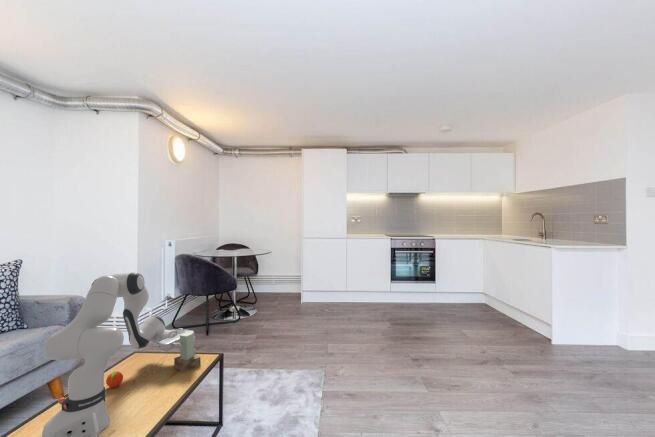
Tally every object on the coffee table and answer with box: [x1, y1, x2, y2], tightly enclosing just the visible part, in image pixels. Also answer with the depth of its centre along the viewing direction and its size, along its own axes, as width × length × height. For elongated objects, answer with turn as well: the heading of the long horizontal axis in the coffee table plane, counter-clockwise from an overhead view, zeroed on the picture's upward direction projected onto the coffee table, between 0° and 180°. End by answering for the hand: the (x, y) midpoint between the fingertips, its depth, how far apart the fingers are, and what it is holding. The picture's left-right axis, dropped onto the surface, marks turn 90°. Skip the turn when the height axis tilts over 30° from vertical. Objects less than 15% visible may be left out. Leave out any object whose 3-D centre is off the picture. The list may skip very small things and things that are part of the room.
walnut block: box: [173, 352, 202, 373], centre depth 173 cm, size 10×10×4 cm
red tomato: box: [105, 371, 124, 388], centre depth 153 cm, size 8×7×7 cm
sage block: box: [179, 332, 195, 360], centre depth 173 cm, size 5×5×13 cm
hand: (188, 341), depth 173 cm, fingers open, 8 cm apart
